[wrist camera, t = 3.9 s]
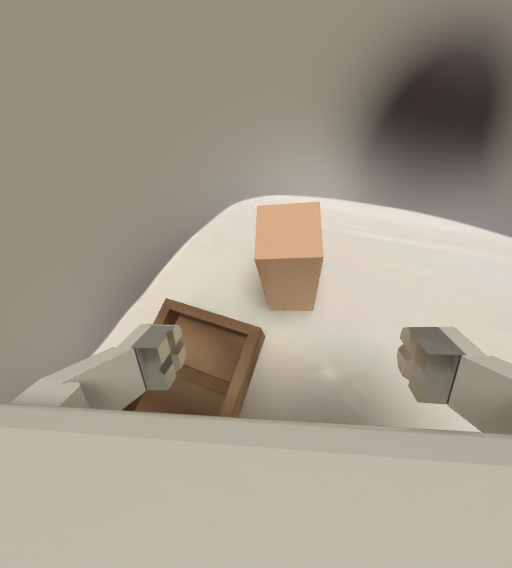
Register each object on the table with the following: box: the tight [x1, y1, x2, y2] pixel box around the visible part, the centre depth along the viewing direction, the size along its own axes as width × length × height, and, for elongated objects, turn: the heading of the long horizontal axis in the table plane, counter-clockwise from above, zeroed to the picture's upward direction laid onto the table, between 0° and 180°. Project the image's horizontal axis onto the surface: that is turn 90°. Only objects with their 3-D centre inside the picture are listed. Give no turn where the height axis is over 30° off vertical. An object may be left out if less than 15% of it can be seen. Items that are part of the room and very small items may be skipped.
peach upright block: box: [254, 202, 323, 310], centre depth 20 cm, size 4×4×10 cm
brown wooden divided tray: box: [122, 298, 265, 418], centre depth 20 cm, size 18×9×3 cm, turn 161°
